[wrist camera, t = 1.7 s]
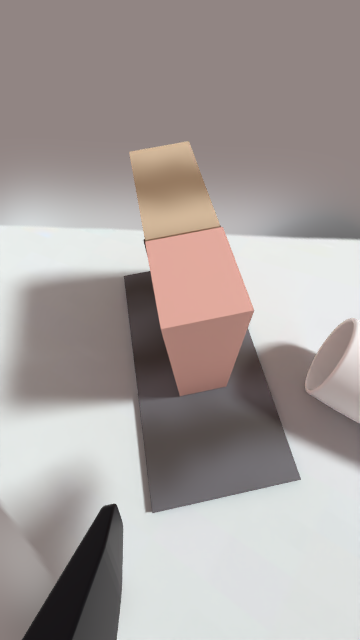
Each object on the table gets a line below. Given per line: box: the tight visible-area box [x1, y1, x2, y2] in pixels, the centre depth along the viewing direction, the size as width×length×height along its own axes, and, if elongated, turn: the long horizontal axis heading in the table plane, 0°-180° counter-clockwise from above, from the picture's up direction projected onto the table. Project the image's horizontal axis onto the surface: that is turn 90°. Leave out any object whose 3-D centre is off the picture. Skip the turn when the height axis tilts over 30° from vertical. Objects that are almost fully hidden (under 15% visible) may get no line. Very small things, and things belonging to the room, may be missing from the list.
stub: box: [145, 227, 254, 396], centre depth 18 cm, size 5×4×13 cm
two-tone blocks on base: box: [124, 141, 301, 513], centre depth 19 cm, size 22×11×14 cm, turn 11°
